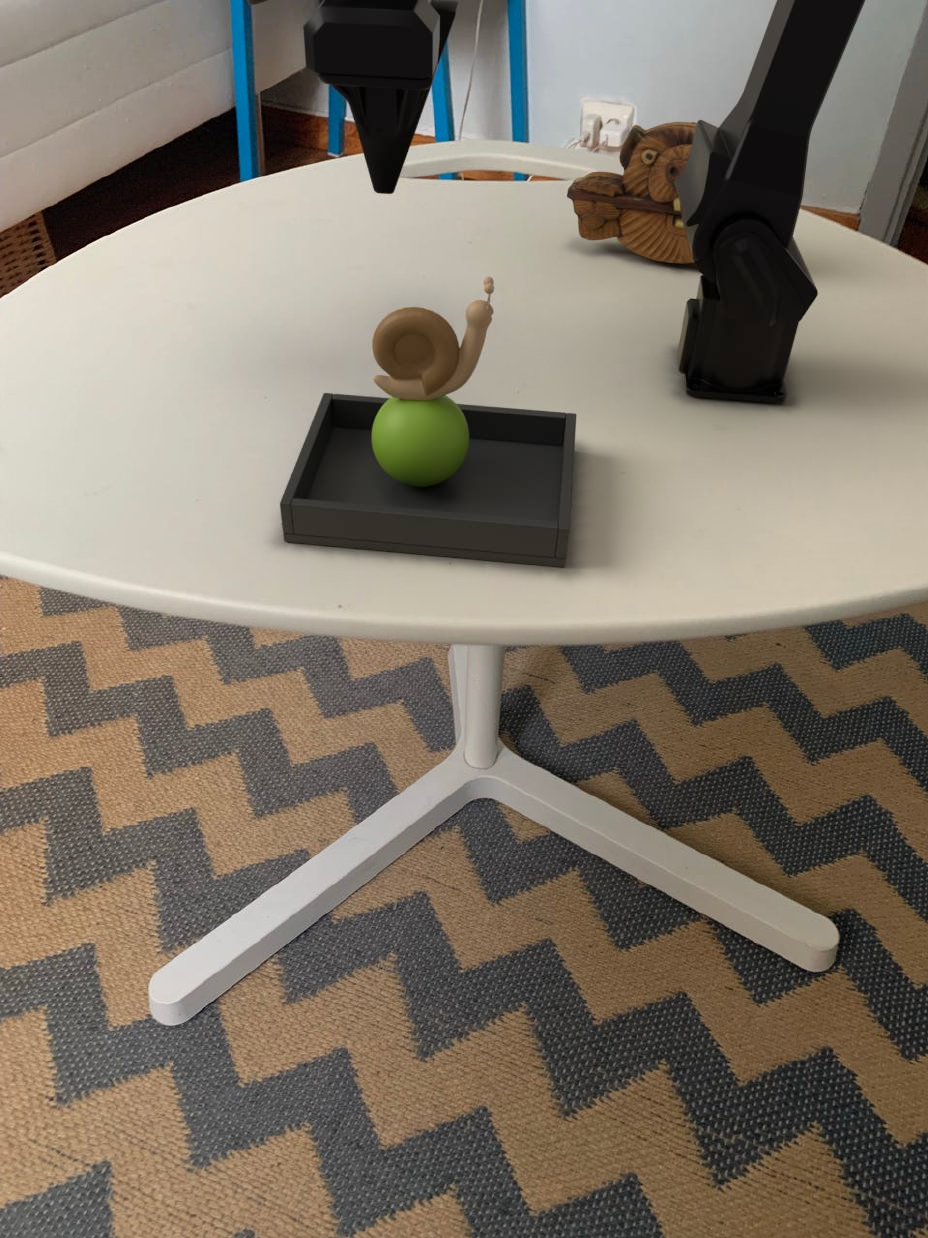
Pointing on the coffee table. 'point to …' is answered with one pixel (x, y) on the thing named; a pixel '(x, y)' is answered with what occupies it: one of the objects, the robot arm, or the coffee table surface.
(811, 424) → the coffee table surface
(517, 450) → the tray
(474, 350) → the snail figurine
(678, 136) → the wooden carving
